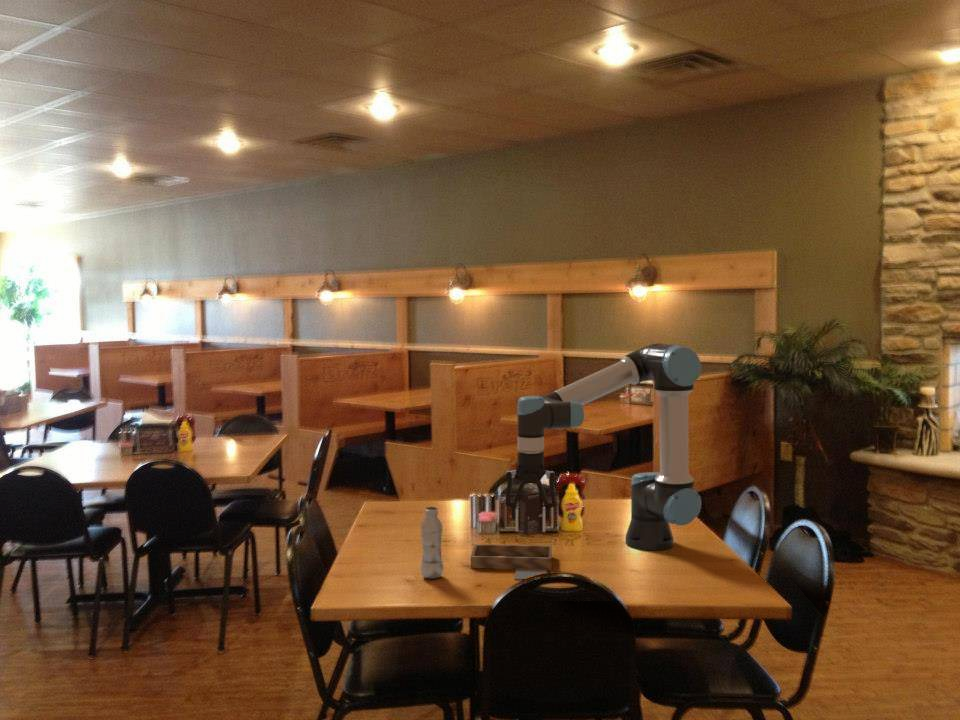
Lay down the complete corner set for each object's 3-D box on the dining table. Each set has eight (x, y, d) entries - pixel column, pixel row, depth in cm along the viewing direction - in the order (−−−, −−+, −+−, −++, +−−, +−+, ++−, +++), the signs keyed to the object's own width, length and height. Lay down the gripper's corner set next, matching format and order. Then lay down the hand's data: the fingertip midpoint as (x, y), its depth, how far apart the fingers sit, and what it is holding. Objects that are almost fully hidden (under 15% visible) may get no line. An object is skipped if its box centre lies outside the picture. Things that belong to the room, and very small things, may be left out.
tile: (546, 570, 253) (546, 568, 253) (546, 580, 244) (546, 579, 244) (515, 569, 254) (515, 568, 254) (514, 579, 245) (514, 578, 245)
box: (527, 536, 244) (526, 494, 244) (517, 532, 248) (517, 491, 247) (544, 532, 248) (543, 491, 247) (534, 529, 252) (534, 488, 251)
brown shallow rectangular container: (551, 556, 266) (551, 545, 265) (551, 570, 253) (551, 558, 253) (474, 555, 268) (474, 544, 267) (470, 568, 255) (470, 556, 255)
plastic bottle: (423, 582, 243) (422, 512, 242) (418, 574, 250) (417, 506, 248) (446, 580, 245) (445, 510, 244) (440, 572, 252) (439, 504, 250)
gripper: (565, 449, 249) (565, 527, 251) (496, 448, 251) (496, 526, 253) (566, 453, 242) (565, 534, 243) (494, 452, 243) (494, 533, 245)
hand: (530, 530), depth 248 cm, fingers closed on box, 7 cm apart
